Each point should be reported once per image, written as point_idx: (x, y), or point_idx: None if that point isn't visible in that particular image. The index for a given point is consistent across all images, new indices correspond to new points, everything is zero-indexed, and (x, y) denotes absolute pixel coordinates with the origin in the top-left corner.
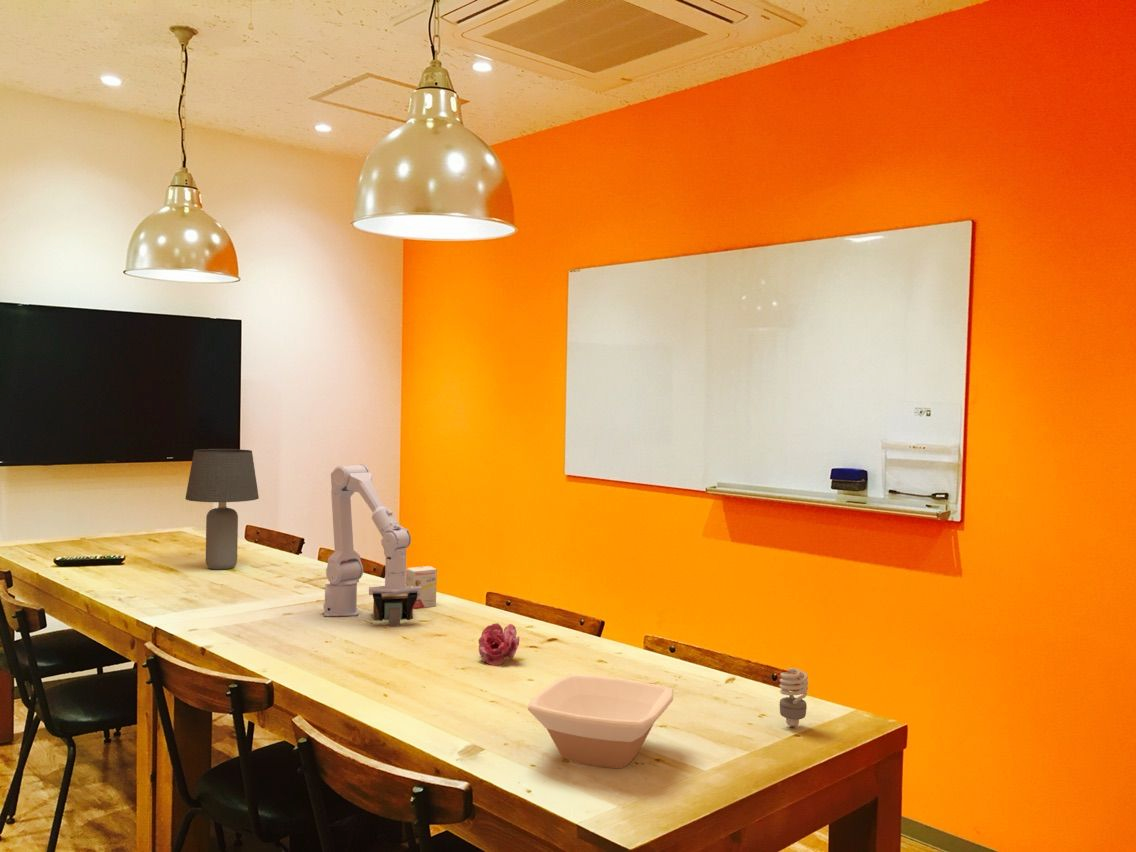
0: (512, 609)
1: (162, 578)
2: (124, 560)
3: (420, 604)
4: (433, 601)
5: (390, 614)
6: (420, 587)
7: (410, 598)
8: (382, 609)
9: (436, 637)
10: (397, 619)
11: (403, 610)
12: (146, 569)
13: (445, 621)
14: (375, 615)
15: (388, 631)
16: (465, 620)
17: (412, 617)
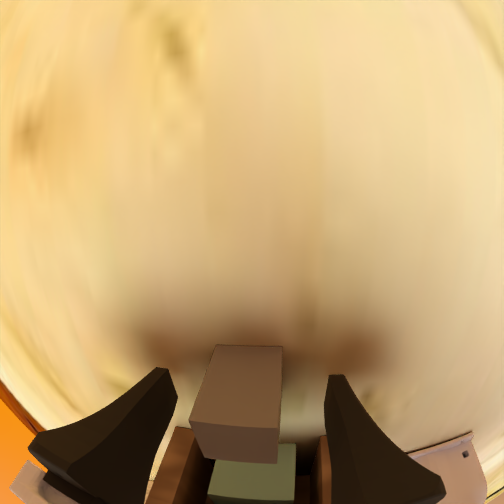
0: (8, 393)
1: (497, 484)
2: None
3: None
4: (148, 490)
5: (271, 400)
6: (11, 490)
7: (66, 454)
8: (295, 488)
9: (39, 87)
10: (224, 371)
11: None
12: (487, 494)
13: (56, 358)
14: None
15: (291, 210)
16: (21, 348)
17: (174, 430)
